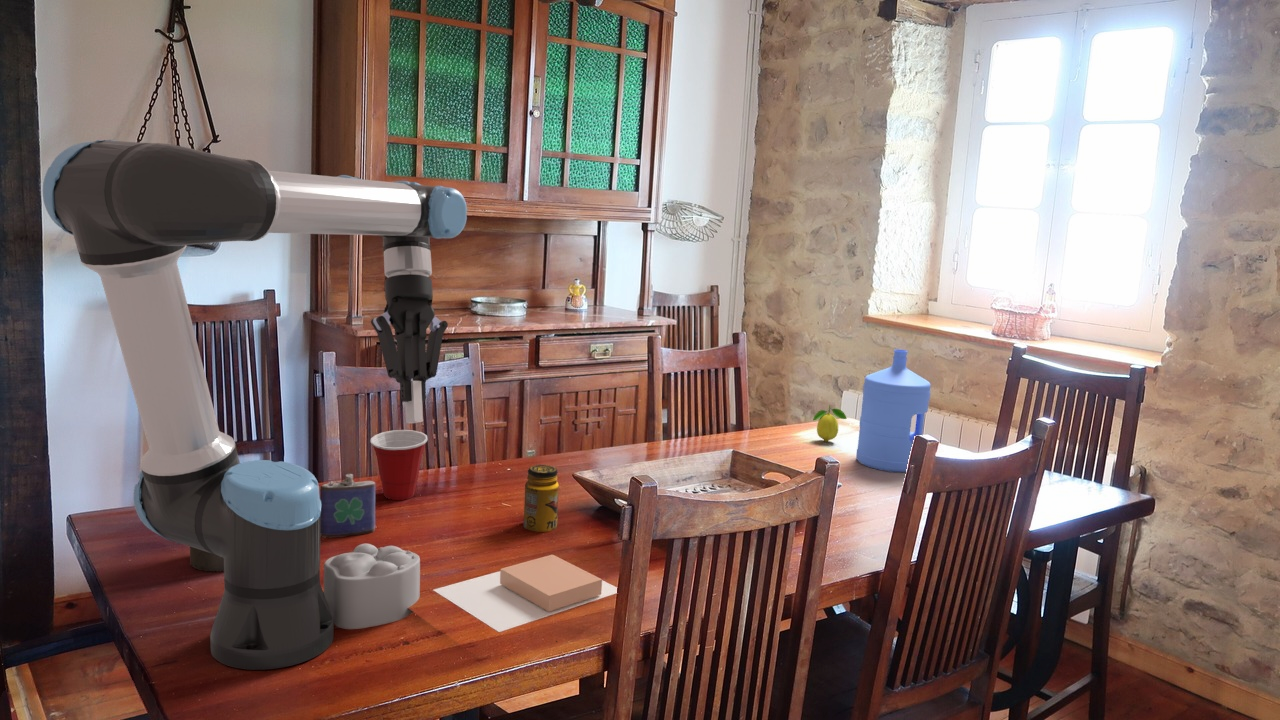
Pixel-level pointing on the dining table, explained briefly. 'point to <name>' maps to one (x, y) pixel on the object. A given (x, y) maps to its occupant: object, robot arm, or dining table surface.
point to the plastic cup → (399, 461)
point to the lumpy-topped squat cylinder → (371, 586)
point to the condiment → (541, 499)
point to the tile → (550, 582)
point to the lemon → (828, 423)
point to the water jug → (891, 415)
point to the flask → (347, 508)
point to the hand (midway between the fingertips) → (414, 422)
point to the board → (503, 602)
